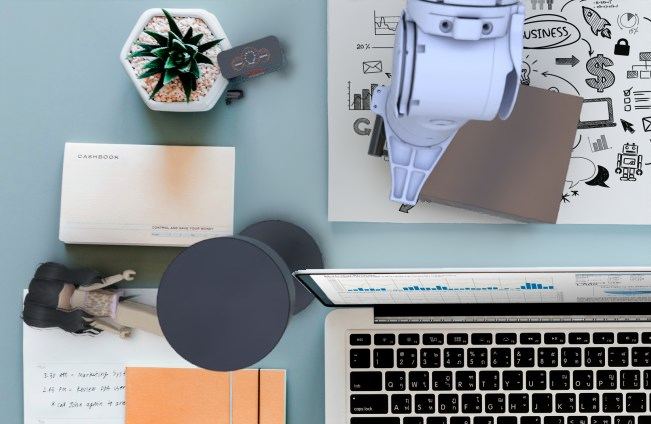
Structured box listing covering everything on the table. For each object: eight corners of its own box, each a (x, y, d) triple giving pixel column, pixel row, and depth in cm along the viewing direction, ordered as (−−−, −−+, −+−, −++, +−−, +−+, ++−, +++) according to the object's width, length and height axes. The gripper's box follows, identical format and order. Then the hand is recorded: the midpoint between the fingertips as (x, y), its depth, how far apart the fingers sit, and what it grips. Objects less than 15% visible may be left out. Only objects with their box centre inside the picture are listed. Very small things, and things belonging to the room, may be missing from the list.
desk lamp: (238, 210, 66) (159, 203, 38) (333, 231, 66) (323, 240, 38) (217, 305, 66) (122, 367, 38) (311, 327, 66) (286, 406, 38)
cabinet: (408, 196, 66) (417, 193, 58) (433, 86, 66) (445, 67, 58) (530, 224, 65) (556, 224, 57) (555, 112, 65) (584, 97, 57)
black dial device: (213, 64, 67) (207, 56, 63) (279, 42, 66) (276, 33, 63) (227, 106, 66) (221, 101, 63) (293, 85, 66) (290, 78, 63)
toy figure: (185, 271, 67) (40, 255, 66) (170, 285, 60) (10, 267, 60) (179, 338, 67) (36, 322, 67) (164, 358, 61) (6, 341, 61)
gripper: (397, -17, 45) (385, 39, 58) (351, 187, 44) (350, 195, 58) (497, 4, 44) (462, 55, 58) (451, 210, 44) (427, 212, 58)
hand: (411, 126), depth 58 cm, fingers closed
